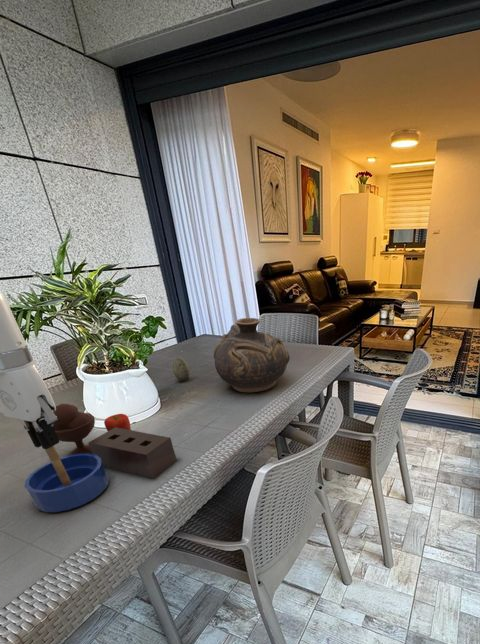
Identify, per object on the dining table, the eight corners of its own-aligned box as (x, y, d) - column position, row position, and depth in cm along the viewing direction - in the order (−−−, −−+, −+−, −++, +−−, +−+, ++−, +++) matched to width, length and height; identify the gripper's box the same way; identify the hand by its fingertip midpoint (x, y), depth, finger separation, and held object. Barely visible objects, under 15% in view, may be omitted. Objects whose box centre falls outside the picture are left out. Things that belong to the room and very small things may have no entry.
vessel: (240, 369, 152) (234, 309, 140) (300, 378, 144) (299, 316, 132) (202, 393, 130) (191, 324, 117) (270, 405, 122) (266, 333, 110)
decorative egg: (172, 382, 142) (166, 358, 137) (182, 377, 147) (176, 353, 142) (185, 383, 140) (179, 359, 135) (194, 378, 145) (189, 354, 140)
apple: (123, 432, 107) (116, 409, 103) (139, 435, 104) (131, 412, 101) (106, 442, 101) (97, 419, 98) (122, 446, 99) (113, 422, 96)
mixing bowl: (21, 506, 78) (8, 484, 75) (80, 469, 90) (71, 449, 87) (67, 520, 73) (56, 498, 71) (123, 479, 85) (115, 459, 82)
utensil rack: (97, 465, 91) (88, 442, 88) (123, 449, 98) (115, 427, 94) (153, 478, 85) (145, 454, 82) (176, 460, 92) (170, 437, 89)
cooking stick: (65, 493, 79) (29, 422, 70) (72, 489, 80) (37, 419, 71) (70, 494, 78) (35, 424, 69) (76, 490, 79) (43, 420, 71)
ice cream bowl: (114, 445, 100) (95, 397, 92) (76, 467, 91) (52, 415, 84) (89, 438, 104) (70, 392, 96) (50, 458, 95) (26, 408, 88)
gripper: (-45, 362, 63) (4, 448, 72) (12, 369, 58) (56, 461, 67) (0, 350, 70) (40, 431, 78) (55, 356, 64) (91, 441, 73)
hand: (47, 444), depth 73 cm, fingers closed on cooking stick, 1 cm apart
